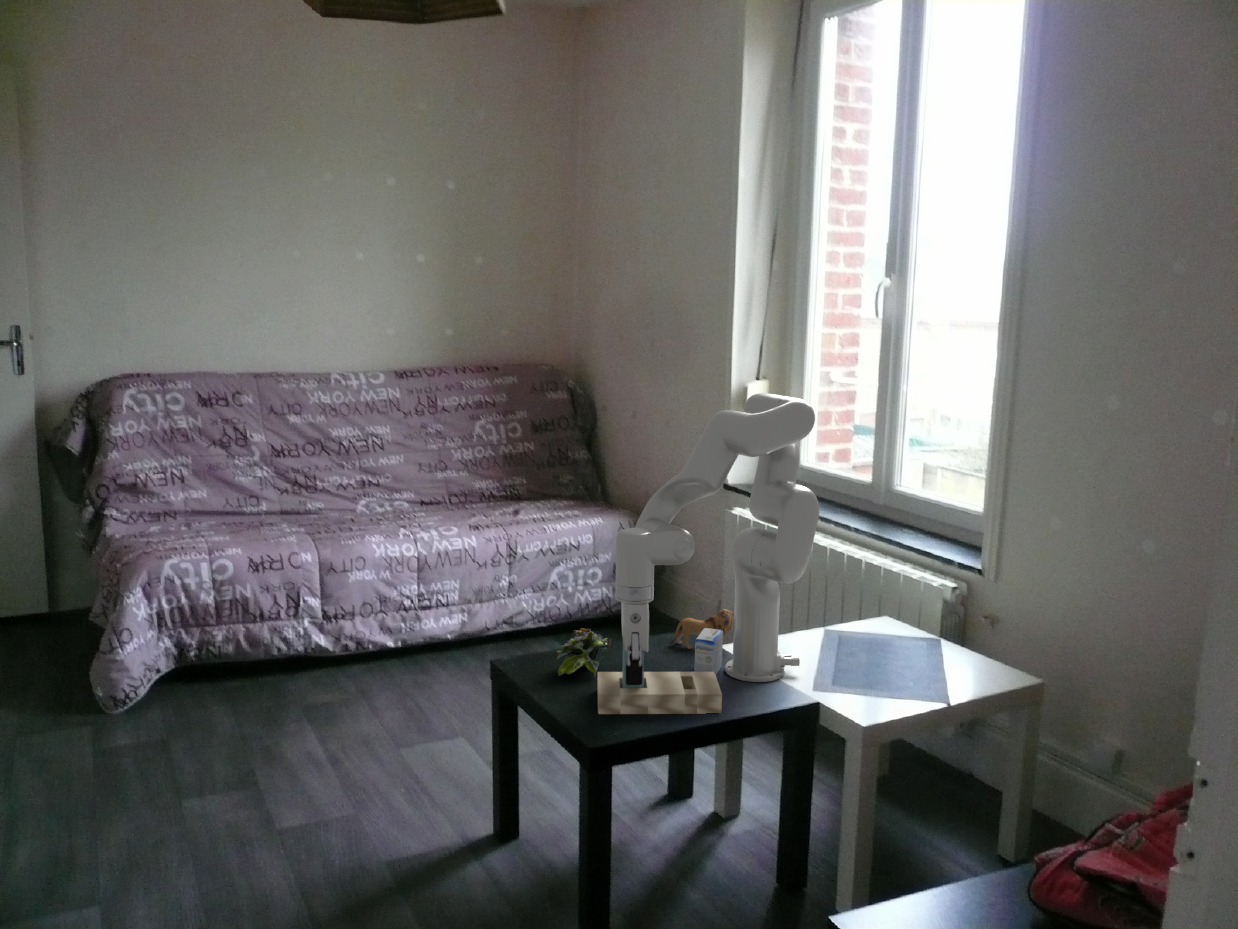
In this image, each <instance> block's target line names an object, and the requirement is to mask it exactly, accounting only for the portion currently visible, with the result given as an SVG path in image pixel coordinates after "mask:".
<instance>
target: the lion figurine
mask: <svg viewBox="0 0 1238 929" xmlns="http://www.w3.org/2000/svg"><path fill="white" fill-rule="evenodd" d="M733 627H734V612H733V611H731V610H729V609H727V608H723V609H721V610H719V611H718V612H717V613H716V614H714V615H711V616H710V617H709V618H706V619H705V620H699V619H695V618H693V617H685V618H683V619H681V620H680V621H679V622H678V625H677V627H676V630H675V633H674V637H673V639H672V640H671V641H670V642H669V643H668V644H669V645H673V644H674V643H675V642H676V643H677V644H678V645H679V644H680V645H682V644H683V643H684V645H685V647H686V649H688V650H691V649H693V646H692V645H690V644H689V638H690V636H691V634H692V633H694V634H695V635H696V636H699V634H700V633H701V632H702V630H703V629H704V628H710V629H717V630H722V631H723V637H724V636H725V635H727V633H728V632H729V631H730V630H731V629H732V628H733ZM680 629H681V630H680ZM682 637H684V638H683V640H681V638H682Z"/></svg>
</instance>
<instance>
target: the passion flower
mask: <svg viewBox="0 0 1238 929" xmlns="http://www.w3.org/2000/svg"><path fill="white" fill-rule="evenodd" d="M572 631H573V632H572V633H573V638H570V640H567V643H564V645H561V646H560V647H561V650H557V651H556V652H557V654H558V655H557V658H556V659H557V660H559V659H560V658H562V657H564V656H566V657H565V659H564V660H563V662H562V663H561V665H560V666H559V667H558V669H557V675H558V676H559V678H560V677H561V676H562V675H564V674H566V675H571V674H573V673H575V672H576V671H577V670H579V669H580V668H582V667H584V666H585V667H586V669H587V670H588V671H589V672H591V673H593V678H594V679H595V677H596V675H597V672H598V667H599V666H600V664H601V661H602V658H604V655H605V654H606V653H607V652H608V651H609V648H610V647H611V646H612V643H613V642H612V638H610V639H609V638H608V637H605V638H603V635H602V634H600V633H598V634H597V632H594V631H591V628H587V629H586V628H580V629H579V630H578V629H577V630H576V629H574V630H572ZM599 652H600V653H601V652H603V653H602V654H601V656H600V657H599V658H598V659H597V655H598V653H599ZM596 659H597V660H596Z"/></svg>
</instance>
